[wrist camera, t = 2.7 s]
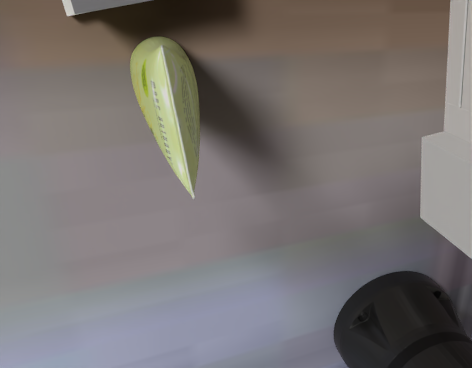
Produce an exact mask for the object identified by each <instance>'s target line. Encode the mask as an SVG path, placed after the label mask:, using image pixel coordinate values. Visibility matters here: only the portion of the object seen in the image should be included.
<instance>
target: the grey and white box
mask: <svg viewBox="0 0 472 368" xmlns="http://www.w3.org/2000/svg"><path fill="white" fill-rule="evenodd" d="M62 1H63V5H64V8H65V11H66V14H67V16H71V15H76V14H82V13H87V12H92V11H98V10H103V9H109V8H114V7H119V6H125V5H130V4H136V3H141V2H146V1H152V0H62Z"/></svg>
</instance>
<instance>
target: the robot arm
mask: <svg viewBox="0 0 472 368" xmlns="http://www.w3.org/2000/svg"><path fill="white" fill-rule="evenodd" d="M420 218H422V219H423V220H424V221H425V222H426V223H428V224H429V225H430V226H431V227H433V228H434V229H435V230H436V231H438V232H439V233H440V234H441V235H443V236H444V237H445V238H446V239H448V240H449V241H450V242H451V243H453V244H454V245H455V246H456V247H458V248H459V249H460V250H461V251H462V252H464V253H465V254H466V255H467V256H469V257H470V258H471V259H472V143H470V142H468V141H466V140H464V139H461V138H459V137H457V136H455V135H453V134H451V133H449V132H446V131H444V132H440V133H436V134H432V135H428V136H424V137H422V156H421V206H420ZM334 342H335V345H336V348H337V350H338V352H339V353H340V355H341V357H342V359H343V360H344V362H345V363H346V365H347V366H348V367H349V368H472V341H471V340H470V339H469V338H468V337H467V335H466V333H465V331H464V329H463V327H462V324H461V322H460V320H459V318H458V316H457V314H456V311H455V309H454V307H453V305H452V303H451V301H450V299H449V297H448V296H447V294H446V293H445V292H444V291H443V290H442V289H441V288H440V287H439V286H438V285H437V284H436V283H435V282H434V281H433V280H432V279H431V278H429V277H427V276H425V275H423V274H420V273H416V272H396V273H391V274H387V275H384V276H382V277H379V278H377V279H375V280H373V281H371V282H369V283H368V284H366V285H365V286H363V287H362V288H360V289H359V290H358V291H357V292H356V293H355V294H354V295H353V296H352V297H351V298H350V299H349V300H348V301H347V302H346V304H345V305H344V306H343V308H342V309H341V311H340V313H339V315H338V317H337V320H336V323H335V327H334Z"/></svg>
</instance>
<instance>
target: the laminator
mask: <svg viewBox="0 0 472 368" xmlns="http://www.w3.org/2000/svg"><path fill="white" fill-rule="evenodd" d="M444 131H446V132H449V133H451V134H453V135H455V136H457V137H459V138H461V139H464V140H466V141H468V142H470V143H472V0H451V1H450V21H449V40H448V60H447V79H446V99H445V118H444Z"/></svg>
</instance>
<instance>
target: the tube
mask: <svg viewBox="0 0 472 368" xmlns="http://www.w3.org/2000/svg"><path fill="white" fill-rule="evenodd" d="M130 72H131V79H132V83H133V87H134V91H135V94H136V97H137V100H138V103H139V105H140V108H141V110H142V112H143V115H144V117H145V119H146V121H147V123H148V125H149V127H150V129H151V131H152V133H153V135H154V137H155V139H156V141H157V143H158V145H159V147H160V148H161V150H162V152H163V154H164V156H165V157H166V159H167V161H168V162H169V164H170V166H171V167H172V169H173V171H174V172H175V174H176V175H177V177H178V178H179V179H180V181H181V182H182V184H183V185H184V186H185V188H186V189H187V190H188V192H189V193H190V194H191V196H192V198H193V199H195V194H194V188H195V183H196V176H197V170H198V161H199V146H200V112H199V97H198V88H197V82H196V77H195V74H194V70H193V68H192V65H191V63H190V61H189V59H188V57H187V55H186V53H185V52H184V50H183V49H182V48H181V47H180V45H178V44H177V43H176V42H175V41H173V40H171V39H169V38H166V37H161V36H157V37H150V38H148V39H145V40H144V41H142V42H141V43H140V44H138V46H137V47H136V48H135V49H134V51H133V53H132V56H131V60H130Z"/></svg>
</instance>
